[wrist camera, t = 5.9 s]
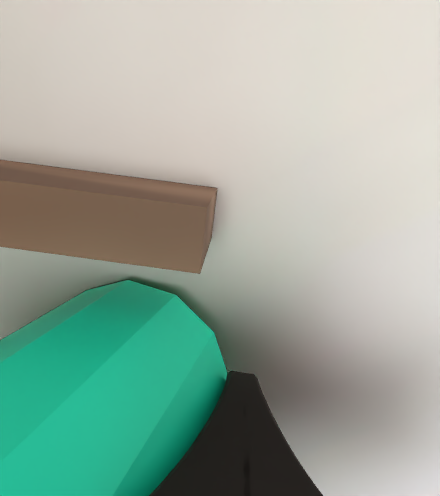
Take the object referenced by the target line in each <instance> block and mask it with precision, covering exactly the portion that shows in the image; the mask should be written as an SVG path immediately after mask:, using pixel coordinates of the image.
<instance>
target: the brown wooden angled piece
mask: <svg viewBox="0 0 440 496" xmlns="http://www.w3.org/2000/svg"><path fill="white" fill-rule="evenodd" d="M216 195H217V188H213V187H205V186H197V185H190V184H182V183H174V182H167V181H159V180H151V179H144V178H136V177H128V176H120V175H113V174H105V173H97V172H90V171H82V170H74V169H66V168H59V167H51V166H43V165H36V164H28V163H20V162H13V161H5V160H0V247H7V248H15V249H22V250H29V251H37V252H44V253H51V254H59V255H66V256H74V257H81V258H88V259H96V260H103V261H110V262H118V263H125V264H132V265H140V266H147V267H154V268H162V269H169V270H176V271H184V272H191V273H198V274H200V272H201V269H202V266H203V263H204V259H205V256H206V253H207V250H208V247H209V244H210V241H211V238H212V229H213V221H214V212H215V204H216Z"/></svg>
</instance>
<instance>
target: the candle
mask: <svg viewBox="0 0 440 496" xmlns="http://www.w3.org/2000/svg"><path fill="white" fill-rule="evenodd" d="M226 377H227V370H226V367H225V364H224V361H223V358H222V355H221V352H220V349H219V346H218V343H217V340H216V337H215V334H214V332H213V331H212V330H211V329H210V328H209V327H208V326H207V325H206V324H205V323H204V322H203V321H202V320H201V319H200V318H199V317H198V316H197V315H196V314H195V313H194V312H193V311H192V310H191V309H190V308H189V307H188V306H187V305H186V304H185V303H184V302H183V301H182V300H181V299H180V298H179V297H178V296H177V295H175V294H172V293H169V292H165V291H162V290H159V289H156V288H153V287H150V286H146V285H143V284H140V283H137V282H134V281H130V280H125V281H121V282H117V283H113V284H109V285H105V286H101V287H98V288H94V289H90V290H86V291H84V292H83V293H81V294H79V295H77V296H76V297H74V298H72V299H71V300H69V301H67V302H65V303H64V304H62V305H60V306H58V307H57V308H55V309H53V310H52V311H50V312H48V313H46V314H45V315H43V316H41V317H39V318H38V319H36V320H34V321H33V322H31V323H29V324H27V325H26V326H24V327H22V328H20V329H19V330H17V331H15V332H14V333H12V334H10V335H8V336H7V337H5V338H3V339H2V340H0V496H149V495H150V494H151V493H152V492H153V491H154V490H155V489H156V488H157V487H158V485H159V484H160V483H161V482H162V481H163V480H164V479H165V478H166V476H167V475H168V474H169V473H170V472H171V471H172V469H173V468H174V467H175V466H176V465H177V464H178V462H179V461H180V460H181V458H182V457H183V456H184V455H185V453H186V452H187V451H188V449H189V448H190V447H191V445H192V444H193V442H194V441H195V439H196V438H197V436H198V435H199V433H200V432H201V430H202V429H203V427H204V425H205V424H206V422H207V421H208V419H209V417H210V415H211V414H212V412H213V410H214V408H215V406H216V404H217V402H218V400H219V398H220V396H221V393H222V391H223V388H224V386H225V382H226Z"/></svg>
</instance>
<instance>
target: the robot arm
mask: <svg viewBox="0 0 440 496" xmlns="http://www.w3.org/2000/svg"><path fill="white" fill-rule="evenodd" d="M149 496H323V495H322V494H321V492H320V491H319V490H318V488H317V487H316V486H315V484H314V483H313V481H312V480H311V479H310V477H309V476H308V474H307V473H306V472H305V470H304V469H303V467H302V466H301V464H300V462H299V461H298V459H297V458H296V456H295V455H294V453H293V451H292V450H291V448H290V446H289V445H288V443H287V441H286V439H285V438H284V436H283V434H282V432H281V430H280V428H279V427H278V425H277V423H276V421H275V419H274V417H273V415H272V413H271V411H270V409H269V407H268V404H267V402H266V400H265V398H264V395H263V393H262V390H261V388H260V385H259V382H258V379H257V377H256V376H255V375H254V374H248V373H241V372H235V371H231V372H229V373H227V377H226V382H225V386H224V388H223V391H222V393H221V396H220V398H219V400H218V402H217V404H216V406H215V408H214V410H213V412H212V414H211V415H210V417H209V419H208V421H207V422H206V424H205V425H204V427H203V429H202V430H201V432H200V433H199V435H198V436H197V438H196V439H195V441H194V442H193V444H192V445H191V447H190V448H189V449H188V451H187V452H186V453H185V455H184V456H183V457H182V458H181V460H180V461H179V462H178V464H177V465H176V466H175V467H174V468H173V469H172V471H171V472H170V473H169V474H168V475H167V476H166V478H165V479H164V480H163V481H162V482H161V483H160V484H159V485H158V487H157V488H156V489H155V490H154V491H153V492H152V493H151V494H150V495H149Z"/></svg>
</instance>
